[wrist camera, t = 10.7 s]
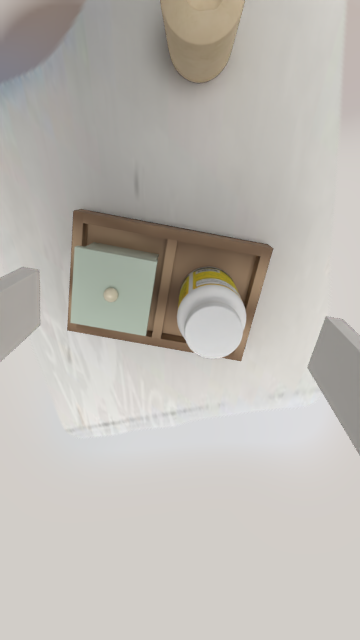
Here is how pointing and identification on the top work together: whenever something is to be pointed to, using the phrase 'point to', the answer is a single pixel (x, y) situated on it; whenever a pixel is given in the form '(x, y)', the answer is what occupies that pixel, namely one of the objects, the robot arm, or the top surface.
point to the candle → (201, 35)
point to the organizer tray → (173, 270)
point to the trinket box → (113, 287)
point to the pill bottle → (210, 313)
